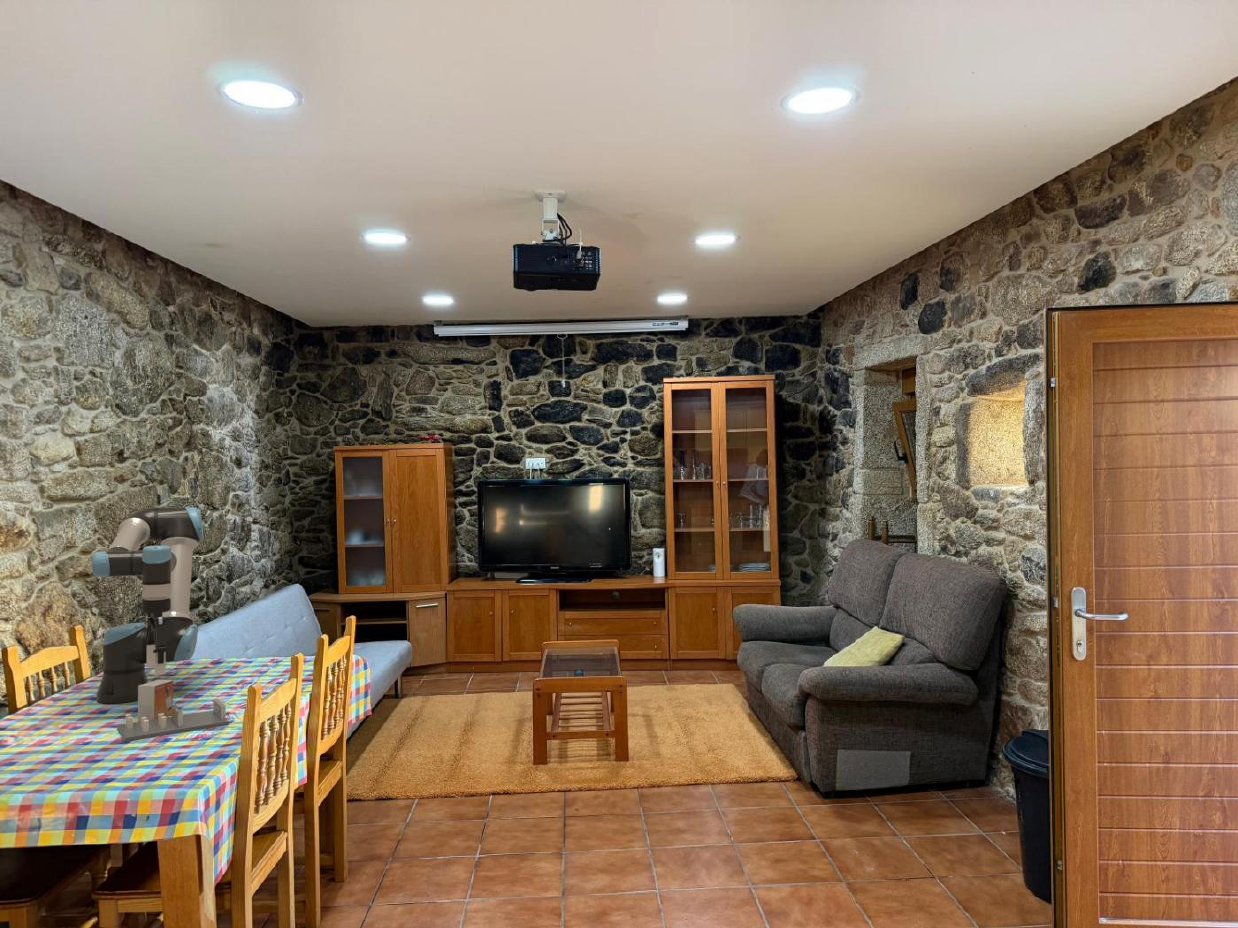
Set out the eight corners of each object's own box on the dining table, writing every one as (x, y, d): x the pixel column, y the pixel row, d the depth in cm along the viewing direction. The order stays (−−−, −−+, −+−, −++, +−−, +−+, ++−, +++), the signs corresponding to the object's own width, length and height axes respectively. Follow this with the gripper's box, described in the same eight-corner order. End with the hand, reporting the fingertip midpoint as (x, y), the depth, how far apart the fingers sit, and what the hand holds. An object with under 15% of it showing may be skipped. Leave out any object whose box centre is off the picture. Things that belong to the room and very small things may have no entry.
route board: (116, 728, 243) (117, 714, 243) (216, 713, 258) (216, 699, 258) (124, 741, 231) (124, 726, 231) (228, 724, 246) (228, 710, 247)
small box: (153, 722, 248) (154, 686, 249) (137, 721, 250) (137, 685, 250) (173, 715, 256) (173, 679, 256) (157, 713, 257) (157, 678, 258)
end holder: (171, 719, 248) (171, 705, 248) (217, 712, 256) (217, 698, 256) (178, 727, 240) (178, 713, 240) (225, 719, 248) (225, 705, 248)
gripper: (135, 594, 261) (134, 665, 261) (149, 603, 241) (148, 679, 241) (162, 592, 266) (162, 661, 265) (178, 601, 246) (178, 676, 245)
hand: (155, 670), depth 253 cm, fingers open, 13 cm apart
